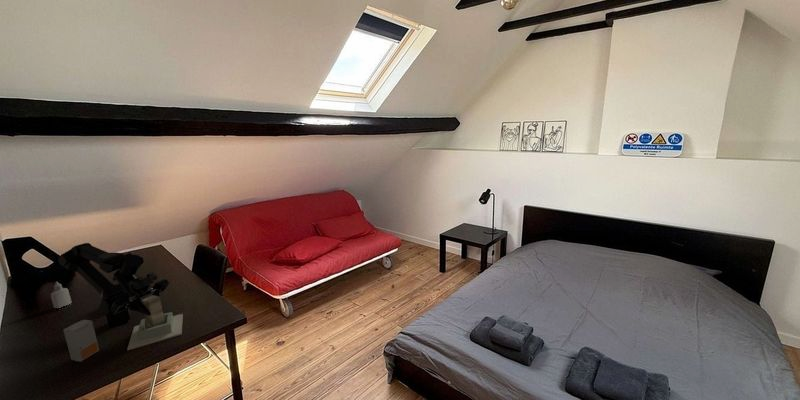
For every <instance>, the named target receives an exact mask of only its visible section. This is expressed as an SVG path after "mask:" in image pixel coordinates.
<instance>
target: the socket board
mask: <svg viewBox="0 0 800 400" xmlns="http://www.w3.org/2000/svg"><path fill="white" fill-rule="evenodd" d="M163 315H164V320H165V324H162V325H159V326H155V327H151V328H147V324H146V319H145V318H143V319H141V320H140V324H139V325H138V324H137V325H135V326H134V327H133V329H132V332H131V336H130V340H129V342H128V346H127V351H130V350H131V351H132V350H134V349H137V348H141V347H145V346H148V345H151V344H155V343H158V342H161V341H165V340H168V339H169V340H170V339H171V338H175V337H178V336H181V335H182V333H183V319H184V314H183V313H179V314H175V315H173V312H172V311H170V312H166V313H163Z"/></svg>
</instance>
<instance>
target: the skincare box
mask: <svg viewBox="0 0 800 400" xmlns="http://www.w3.org/2000/svg"><path fill="white" fill-rule="evenodd" d="M63 334H64V338H65V341H66V345H67V348H68V352H69V356H70V361H73V360H74V362H83V361H84V360H86V359H88V358H89V357H91V356H93V355H94V354H95V353H97V352H99V351H100V348H99V343H98V340H97V334H96V331H95V327H94V322H93V320H88V319H82V320H80V321H77V322H75V323H72V324H71V325H69V326H68V327H66V328H63Z"/></svg>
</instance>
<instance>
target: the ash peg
mask: <svg viewBox="0 0 800 400" xmlns="http://www.w3.org/2000/svg"><path fill="white" fill-rule="evenodd" d="M159 296H160V295H159ZM159 296H154V295H152V296H148V297H146V298H144V299H140V300H141V302H142V304H143V305H144V306H145V307H146V308H147V309H148V310H149V312H150V313H151V315H150V316H148V315H145V314H143V315H144V319H146V324H147V328H151V327H155V326H159V325H162V324H165V320H164V315H163V314H164V312H163V305H162V301H161V296H160V297H159Z"/></svg>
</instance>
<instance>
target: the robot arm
mask: <svg viewBox="0 0 800 400" xmlns="http://www.w3.org/2000/svg"><path fill="white" fill-rule="evenodd" d="M57 260H58V261H57V262H58V263H59V265H60V266H62V267H63V268H64V269H66V270H67V271H71V272H76V273H78V275H80V276H81V277H82V278H83V279H84V280H85V281H86V282H87V283H88V284H89V285H91V287H93V289H95V290H96V291H97V292H98V293H99V295H100V305H99V306H98V310H99V312H100V313H101V314H105V316H106V320H107V328H109V329H110V328H112V327H116V326H120V325H121V326H122V325H123V324H128V323H129V321H130V320H131V317H132V314H131V311H134V312H138V313H140V314H143V315H144V314H145V315H148V316H150V315H151V313H150V312H149V310H148V309H147V308H146V307H145V306H144V305H143V304H142V301H141V300H142V298H144V297H146V296H148V297H150V296H152V295H154V296H159V297H160V298H161V296H160V293H162V292H164V291H166V289H167V288H168V286H169V285H170V284H171V283H170V281H169V279H166V278H163V279H161V280H159V281H157V282H155V281H156V280H157V279H158V276H157V275H156V273H155V272H154V271H152V272H150V273H147V274H146V277H142V276H138V275H137V273H139V270H140V269H141V267H142V266H143V264H144V263H145V262H144V261H145V260H144V258H143V257H142V256H140V255H138V254H132V252H128V253H125V254H124V253H121V252H108V251H105V250H103V249H101V248H98V247H96V246H93V245H92V244H91V243H89V242H85V243H84V242H83V243H81V244H77V245H74V246H72V247H71V248H70V249H69V250H67V251H65V252H64V253H61V254H60V255H59V257H58V259H57ZM91 261H92V262H93V263H95V264H98V265H99V269H100V270H101V271H102V272H104V273H106V274H109V273H112V272H113V275H112V281H113V282H115V281H116V282H117V283H116V284H114V283H112V282H111V281H110V280H109V279H108V278H107V277H106V276H105V275H104V274H103V273H102V272H100V271H99V269H98V268H96V267H95V266H94V265H93V263H91ZM114 271H115V272H114ZM118 283H119V284H118ZM151 284H152V285H153V286H152V287H151ZM145 315H144V316H145Z"/></svg>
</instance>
